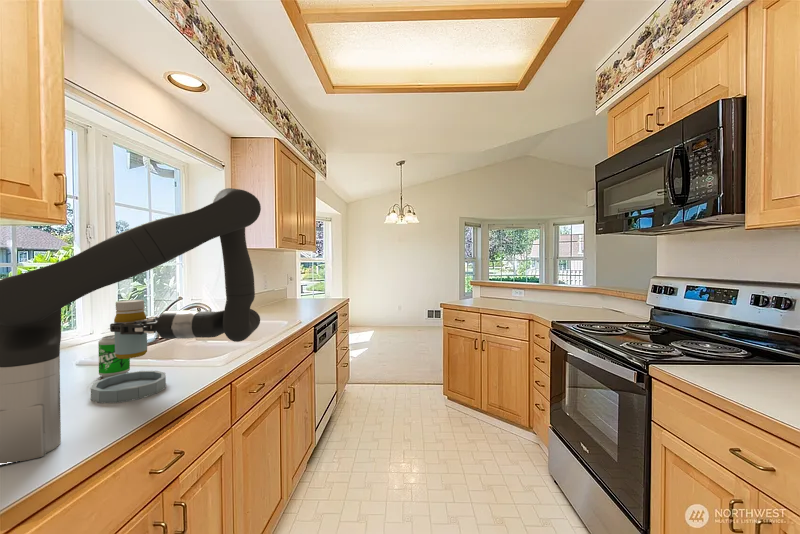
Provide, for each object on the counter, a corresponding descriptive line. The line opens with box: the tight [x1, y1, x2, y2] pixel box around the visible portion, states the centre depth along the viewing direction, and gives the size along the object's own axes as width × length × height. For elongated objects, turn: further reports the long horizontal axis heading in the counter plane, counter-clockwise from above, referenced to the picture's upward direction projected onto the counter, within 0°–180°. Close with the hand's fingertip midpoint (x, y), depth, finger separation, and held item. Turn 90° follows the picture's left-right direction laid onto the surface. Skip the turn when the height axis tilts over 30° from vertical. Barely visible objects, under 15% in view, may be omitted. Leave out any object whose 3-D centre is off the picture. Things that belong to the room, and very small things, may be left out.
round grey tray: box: [90, 370, 167, 404], centre depth 97 cm, size 16×16×3 cm
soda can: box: [97, 334, 131, 379], centre depth 109 cm, size 8×8×12 cm
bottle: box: [113, 299, 148, 359], centre depth 96 cm, size 7×7×15 cm
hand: (122, 324), depth 96 cm, fingers closed on bottle, 7 cm apart
